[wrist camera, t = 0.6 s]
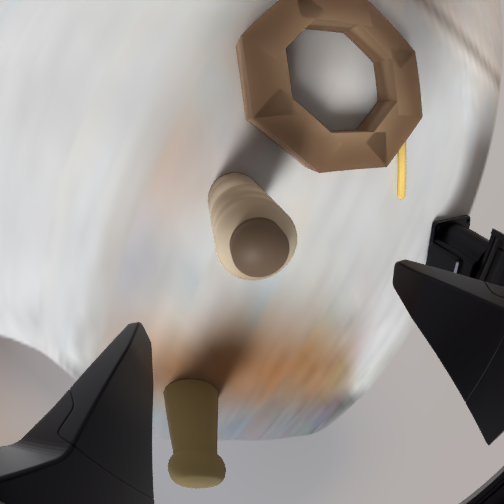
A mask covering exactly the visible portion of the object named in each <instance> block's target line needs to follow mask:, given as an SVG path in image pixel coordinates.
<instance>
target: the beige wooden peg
mask: <svg viewBox="0 0 504 504" xmlns="http://www.w3.org/2000/svg"><path fill="white" fill-rule="evenodd" d="M208 203H209V210H210V217H211V223H212V230H213V236H214V243H215V249H216V254H217V257H218V259H219V261H220V263H221V265H222V266H223V267H224V268H225V269H226V270H227V271H228V272H229V273H231V274H232V275H234V276H236V277H238V278H241V279H246V280H260V279H265V278H268V277H270V276H273V275H274V274H276V273H278V272H279V271H281V270H282V269H283V268H284V267H285V266H286V265H287V264H288V263H289V261H290V260H291V258H292V256H293V254H294V252H295V249H296V245H297V232H296V228H295V225H294V223H293V221H292V220H291V218H290V217H289V216H288V215H287V214H286V213H285V212H284V210H283V209H282V208H281V207H280V206H279V205H278V204H277V203H276V202H275V201H274V200H273V199H272V198H271V197H270V196H269V195H268V194H267V193H266V192H265V191H264V190H263V189H262V188H260V187H259V186H258V185H257V184H256V183H255V182H254V181H253V180H252V179H251V178H250V177H248V176H247V175H244V174H241V173H229V174H225V175H223V176H221V177H220V178H218V179H217V180H216V181H215V182H214V183H213V185H212V186H211V188H210V191H209V195H208Z"/></svg>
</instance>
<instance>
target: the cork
mask: <svg viewBox="0 0 504 504" xmlns="http://www.w3.org/2000/svg"><path fill="white" fill-rule="evenodd" d="M164 399H165V406H166V413H167V420H168V426H169V432H170V437H171V443H172V448H173V453H174V454H173V455H172V457H171V458H170V460H169V463H168V471H169V474H170V477H171V479H172V480H173V481H174V482H175V483H176V484H178V485H180V486H183V487H188V488H208V487H213V486H216V485H218V484H220V483H221V482H222V481H223V479H224V478H225V472H226V468H225V464H224V462H223V460H222V458H221V457H220V456H219V455H218V454H217V425H218V391H217V389H216V388H215V387H214V386H213V385H212V384H210V383H208V382H205V381H202V380H197V379H183V380H177V381H175V382H173V383H170V384H169V385H168V386H167V387H166V388H165V390H164Z"/></svg>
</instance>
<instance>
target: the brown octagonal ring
mask: <svg viewBox="0 0 504 504" xmlns="http://www.w3.org/2000/svg"><path fill="white" fill-rule="evenodd" d="M304 29H309V30H322V31H332V32H341V33H344V34H345V35H346V36H347V37H349V38H350V39H351V40H352V41H353V42H354V43H355V44H356V45H357V46H358V47H359V48H360V49H361V50H362V51H363V52H364V53H365V54H366V55H367V56H368V57H369V58H370V60H371V61H372V62H373V63H374V70H375V78H376V86H377V95H378V102H377V104H376V105H375V106H374V108H373V109H372V110H371V111H370V113H369V114H368V115H367V117H366V118H365V119H364V120H363V122H362V123H361V124H360V125H359V127H358V128H357V129H356V130H346V131H328V130H327V129H326V128H325V127H324V126H323V125H322V124H321V123H320V122H319V121H318V120H317V119H315V118H314V117H313V116H312V115H311V114H310V113H309V112H308V111H307V110H305V109H304V108H303V107H302V106H301V105H300V104H298V103H297V102H296V101H295V100H294V99H293V98H292V92H291V84H290V76H289V69H288V62H287V55H286V49H285V48H286V47H287V46H288V45H289V44H290V43H291V42H292V41H293V40H294V39H295V38H296V37H297V36H298V35H299V34H300V33H301V32H302V31H303V30H304ZM236 50H237V57H238V64H239V72H240V79H241V86H242V94H243V101H244V109H245V116H246V120H247V121H249V122H250V123H251V124H253V125H254V126H255V127H257V128H258V129H259V130H260V131H262V132H263V133H264V134H266V135H267V136H268V137H269V138H271V139H272V140H273V141H274V142H276V143H277V144H278V145H279V146H281V147H282V148H283V149H284V150H286V151H287V152H288V153H289V154H290V155H292V156H293V157H294V158H295V159H296V160H298V161H299V162H300V163H301V164H302V165H304V166H305V167H307V168H309V169H311V170H314V171H316V172H318V173H323V172H332V171H342V170H353V169H365V168H378V167H387V166H388V165H389V163H390V162H391V160H392V159H393V158H394V156H395V155H396V154H397V152H398V151H399V150H400V148H401V147H402V145H403V144H404V143H405V141H406V140H407V138H408V137H409V136H410V134H411V133H412V131H413V130H414V128H415V127H416V126H417V124H418V123H419V121H420V120H421V118H422V106H421V94H420V84H419V76H418V68H417V62H416V55H415V51H414V50H413V49H412V47H411V46H410V45H409V44H408V43H407V41H406V40H405V39H404V38H403V37H402V36H401V34H400V33H399V32H398V31H397V30H396V29H395V28H394V27H393V25H392V24H391V23H390V22H389V21H388V20H387V19H386V18H385V17H384V16H383V15H382V14H381V13H380V12H379V11H378V10H377V9H376V8H375V7H374V6H373V5H372V4H371V3H370V2H369V1H368V0H279V1H278V2H277V3H275V4H274V5H273V6H272V7H271V8H270V9H269V10H267V11H266V12H265V13H264V14H263V15H262V16H261V17H260V18H259V19H258V20H257V21H256V22H254V23H253V24H252V25H251V26H250V27H249V28H248V29H247V30H246V31H245V32H244V33H243V34H242V35H241V37H240V39H239V41H238V43H237V45H236Z"/></svg>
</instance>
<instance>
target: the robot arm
mask: <svg viewBox="0 0 504 504" xmlns="http://www.w3.org/2000/svg"><path fill="white" fill-rule="evenodd" d="M469 226H470V217H469V216H467V215H465V216H460V217H455V218H451V219H446V220H441V221H436V222H434V224H433V226H432V233H431V240H430V246H429V253H428V258H427V264H426V265H424V264H420V263H417V262H413V261H409V260H402V261H398V262H396V264H395V266H394V275H393V286H394V288H395V290H396V292H397V293H398V295H399V297H400V299H401V300H402V302H403V304H404V305H405V307H406V309H407V311H408V312H409V314H410V316H411V318H412V319H413V321H414V322H415V323H416V325H417V326H418V328H419V329H420V331H421V332H422V334H423V335H424V337H425V338H426V339H427V341H428V342H429V344H430V345H431V347H432V348H433V350H434V351H435V353H436V354H437V356H438V358H439V359H440V361H441V362H442V364H443V365H444V367H445V369H446V370H447V372H448V373H449V375H450V377H451V378H452V380H453V382H454V383H455V385H456V387H457V388H458V390H459V392H460V394H461V395H462V397H463V399H464V401H465V402H466V404H467V406H468V408H469V410H470V412H471V413H472V415H473V417H474V419H475V421H476V423H477V425H478V427H479V429H480V431H481V433H482V435H483V437H484V439H485V441H486V443H487V444H488V445H490V444H491V443H492V442H493V441H494V440H495V439H496V438H498V436H500V435H501V434H502V433H503V432H504V234H503V233H501V232H499V231H497V230H495V229H492V232H491V237H490V240H488V239H486V238H484V237H483V236H481V235H479V234H477V233H476V232H474V231H472V230H470V229H469ZM152 410H153V369H152V347H151V342H150V339H149V337H148V335H147V333H146V331H145V329H144V327H143V325H142V324H141V323H140V322H137V323H131V324H128V325H127V326H126V328H125V329H124V330H123V331H122V332H121V333H120V334H119V335H118V336H117V337H116V338H115V339H114V340H113V341H112V343H111V344H110V345H109V346H108V347H107V348H106V349H105V350H104V351H103V352H102V353H101V354H100V356H99V357H98V358H97V359H96V360H95V361H94V362H93V363H92V364H91V365H90V367H89V368H88V369H87V370H86V371H85V372H84V373H83V374H82V375H81V377H80V378H79V379H78V380H77V381H76V382H75V383H74V384H73V386H72V387H71V388H70V390H68V391H67V392H66V394H65V395H64V396H63V397H62V398H61V399H60V400H59V401H58V403H57V404H56V405H55V406H54V407H53V408H52V409H51V410H50V411H49V412H48V413H47V414H46V415H45V416H44V417H43V418H42V419H41V420H40V421H39V422H38V423H37V424H36V425H35V426H34V427H33V428H32V429H31V430H30V431H29V432H28V433H27V434H26V435H25V436H24V437H23V438H22V439H21V440H19V441H18V442H16V443H14V444H12V445H8V446H2V447H0V504H154V499H153V498H154V495H153V476H152V475H153V473H152ZM459 504H504V466H503V467H502V468H501V469H500V470H499V471H498V472H497V473H496V474H495V475H494V476H492V477H491V478H490V479H489V480H488V481H487V482H486V483H485V484H484V485H482V486H481V487H480V488H479V489H477V490H476V491H475V492H474V493H473V494H471V495H470V496H469V497H467V498H466V499H465V500H464V501H462V502H461V503H459Z"/></svg>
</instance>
